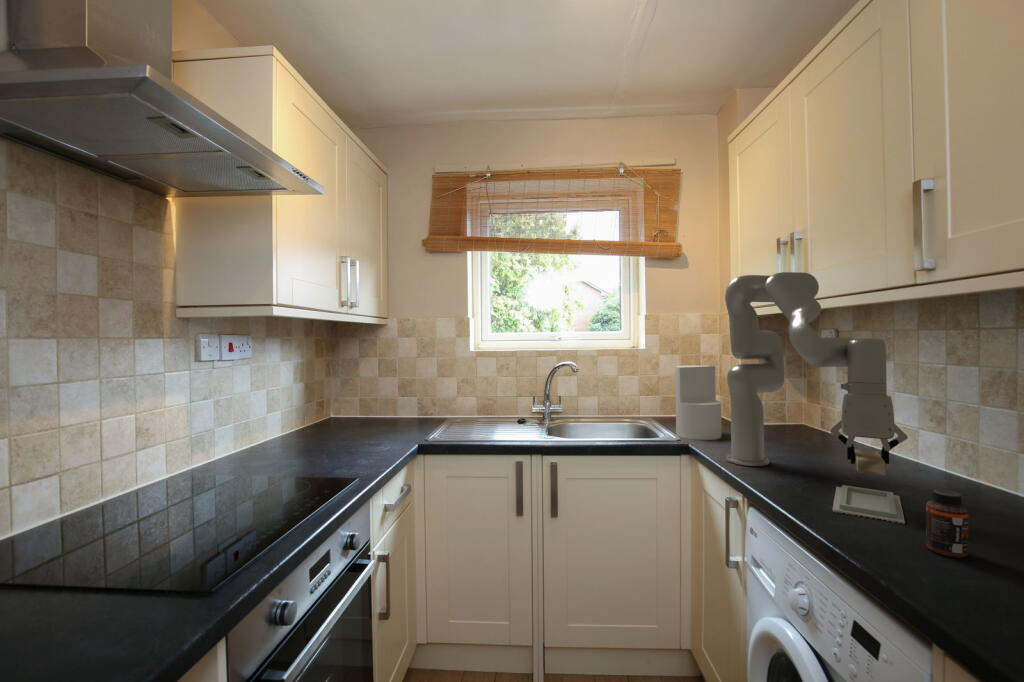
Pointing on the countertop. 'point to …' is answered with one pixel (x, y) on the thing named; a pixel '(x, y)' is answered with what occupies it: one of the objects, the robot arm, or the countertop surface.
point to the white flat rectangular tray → (868, 503)
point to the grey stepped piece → (697, 403)
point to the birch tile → (869, 462)
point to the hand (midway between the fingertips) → (867, 463)
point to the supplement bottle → (947, 524)
